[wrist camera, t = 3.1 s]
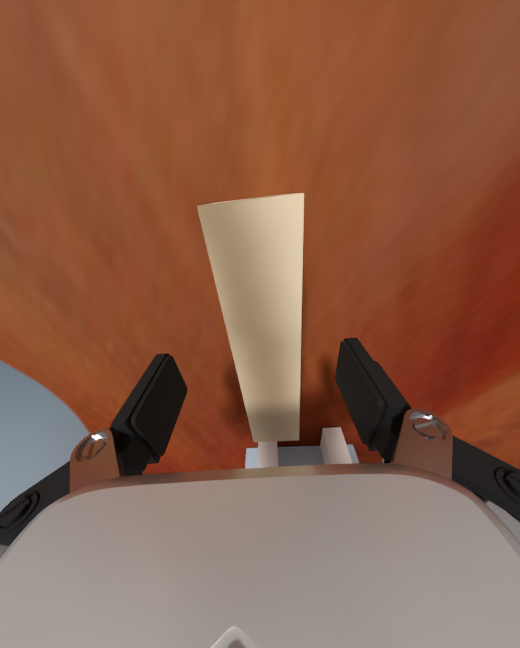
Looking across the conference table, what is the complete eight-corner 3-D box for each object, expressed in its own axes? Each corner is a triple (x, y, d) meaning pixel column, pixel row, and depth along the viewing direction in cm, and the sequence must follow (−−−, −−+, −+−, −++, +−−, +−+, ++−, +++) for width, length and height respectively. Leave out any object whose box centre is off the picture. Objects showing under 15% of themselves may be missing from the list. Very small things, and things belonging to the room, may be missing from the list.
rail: (287, 194, 12) (305, 192, 7) (291, 384, 22) (299, 440, 17) (222, 201, 12) (195, 206, 7) (255, 386, 22) (253, 442, 17)
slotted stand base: (241, 431, 27) (234, 507, 21) (358, 426, 26) (391, 505, 19) (248, 454, 31) (244, 524, 24) (350, 450, 30) (375, 523, 23)
